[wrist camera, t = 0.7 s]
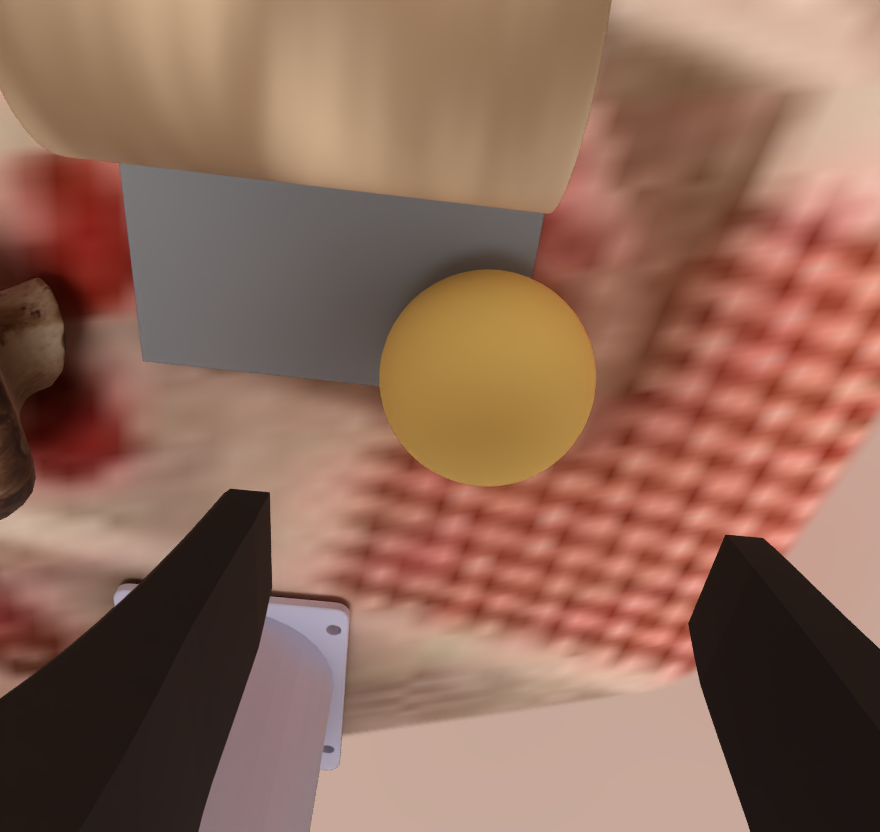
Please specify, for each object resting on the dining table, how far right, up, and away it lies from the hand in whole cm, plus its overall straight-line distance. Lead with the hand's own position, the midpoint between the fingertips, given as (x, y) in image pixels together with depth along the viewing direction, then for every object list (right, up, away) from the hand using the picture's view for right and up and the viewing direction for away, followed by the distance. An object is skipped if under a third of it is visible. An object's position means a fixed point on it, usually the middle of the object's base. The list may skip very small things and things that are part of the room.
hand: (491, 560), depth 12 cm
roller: (-3, +11, +4) cm, 12 cm away
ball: (0, +5, +7) cm, 9 cm away
